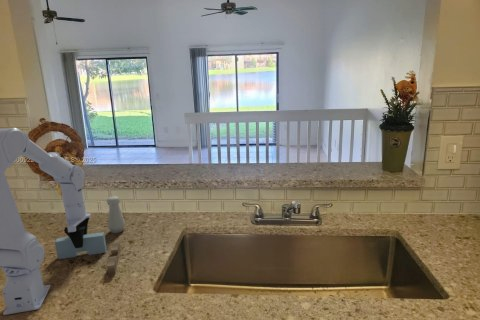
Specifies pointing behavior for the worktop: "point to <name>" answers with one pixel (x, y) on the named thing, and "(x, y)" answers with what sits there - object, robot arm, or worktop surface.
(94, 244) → the slate-blue slotted board
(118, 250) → the walnut slotted board
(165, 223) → the worktop surface
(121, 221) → the salt shaker
